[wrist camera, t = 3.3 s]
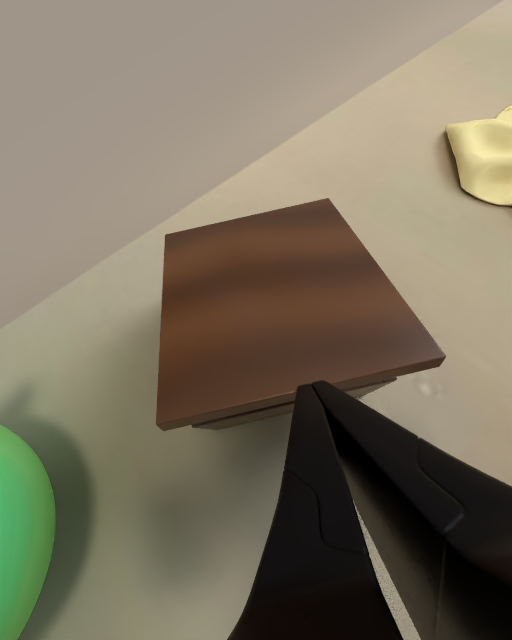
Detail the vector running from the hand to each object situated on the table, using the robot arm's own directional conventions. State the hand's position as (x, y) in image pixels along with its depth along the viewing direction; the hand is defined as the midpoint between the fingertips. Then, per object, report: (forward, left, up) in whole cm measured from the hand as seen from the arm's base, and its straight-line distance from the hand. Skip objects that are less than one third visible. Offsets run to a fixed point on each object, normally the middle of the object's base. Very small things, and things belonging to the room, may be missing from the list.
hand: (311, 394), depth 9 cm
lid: (+5, +4, -5) cm, 8 cm away
